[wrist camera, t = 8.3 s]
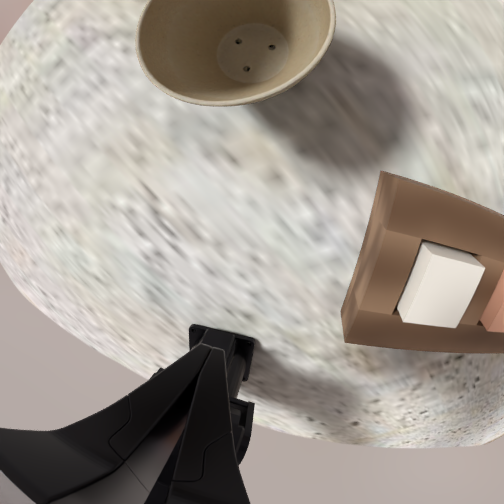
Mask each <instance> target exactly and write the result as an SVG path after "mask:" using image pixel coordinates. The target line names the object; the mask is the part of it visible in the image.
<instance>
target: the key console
mask: <svg viewBox="0 0 504 504" xmlns="http://www.w3.org/2000/svg"><path fill="white" fill-rule="evenodd" d="M421 239H425V240H429V241H433V242H436V243H440V244H444V245H447V246H451V247H454V248H458V249H461V250H465V251H468V252H469V253H470V254H471V255H472V256H473V257H474V258H475V259H476V260H477V261H478V262H480V263H481V264H482V265H483V266H484V267H485V270H484V272H483V275H482V277H481V279H480V282H479V284H478V286H477V288H476V290H475V292H474V295H473V297H472V299H471V301H470V303H469V305H468V307H467V309H466V310H465V312H464V314H463V316H462V318H461V320H460V321H459V323H458V325H457V327H456V328H449V327H440V326H431V325H423V324H415V323H407V322H403V321H402V318H401V316H400V314H399V311H398V309H397V306H396V304H397V302H398V299H399V297H400V295H401V292H402V290H403V288H404V285H405V283H406V280H407V278H408V275H409V273H410V270H411V267H412V265H413V262H414V259H415V257H416V254H417V251H418V248H419V245H420V242H421ZM503 270H504V215H502V214H500V213H498V212H495V211H493V210H491V209H489V208H486V207H484V206H482V205H480V204H477V203H475V202H472V201H470V200H467V199H465V198H462V197H460V196H457V195H455V194H452V193H449V192H447V191H444V190H441V189H438V188H435V187H433V186H430V185H427V184H424V183H421V182H418V181H414V180H411V179H408V178H405V177H402V176H398V175H395V174H391V173H388V172H384V171H381V172H380V177H379V181H378V186H377V190H376V195H375V199H374V203H373V207H372V211H371V215H370V219H369V223H368V226H367V230H366V234H365V237H364V241H363V244H362V248H361V251H360V255H359V258H358V261H357V264H356V267H355V271H354V274H353V277H352V280H351V283H350V286H349V289H348V292H347V295H346V297H345V300H344V303H343V306H342V309H341V318H342V325H343V333H344V341H345V343H351V344H359V345H367V346H376V347H385V348H394V349H405V350H417V351H432V352H451V353H504V332H490V331H487V330H486V329H485V327H484V325H483V324H482V322H481V321H480V320H479V319H480V317H481V316H482V314H483V312H484V310H485V308H486V306H487V304H488V302H489V300H490V298H491V296H492V294H493V292H494V290H495V288H496V286H497V284H498V281H499V279H500V277H501V275H502V272H503Z"/></svg>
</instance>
